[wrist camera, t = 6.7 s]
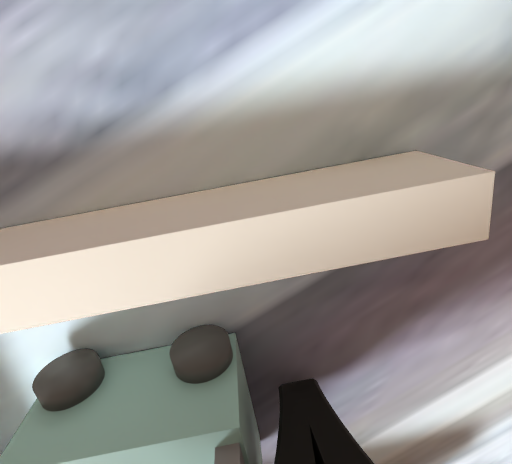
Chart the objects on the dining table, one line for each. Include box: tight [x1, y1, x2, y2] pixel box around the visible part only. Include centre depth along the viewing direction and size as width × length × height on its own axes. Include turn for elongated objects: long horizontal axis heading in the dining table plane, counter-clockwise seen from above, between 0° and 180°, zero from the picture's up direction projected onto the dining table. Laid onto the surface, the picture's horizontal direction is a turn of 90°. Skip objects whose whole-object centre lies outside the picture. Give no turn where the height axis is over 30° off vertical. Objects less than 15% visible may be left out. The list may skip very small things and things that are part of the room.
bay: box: [0, 151, 495, 334], centre depth 11 cm, size 18×15×3 cm
